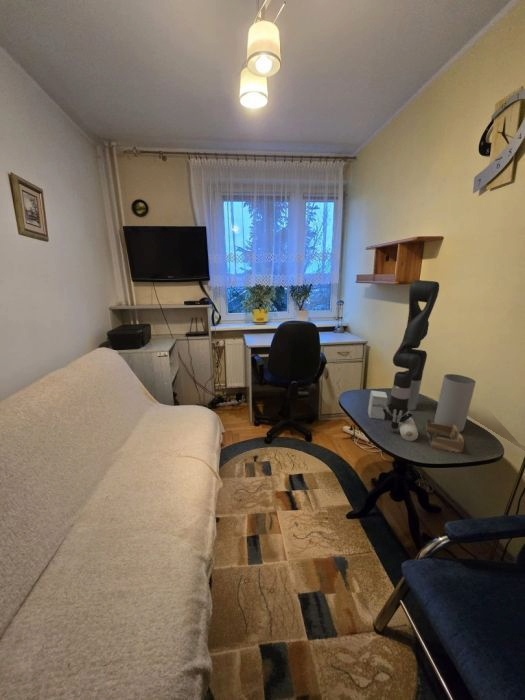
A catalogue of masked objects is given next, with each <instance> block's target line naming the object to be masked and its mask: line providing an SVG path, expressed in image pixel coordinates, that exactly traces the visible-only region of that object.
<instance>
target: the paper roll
mask: <svg viewBox="0 0 525 700" xmlns="http://www.w3.org/2000/svg"><path fill="white" fill-rule="evenodd" d="M398 429H399V432H400V436H401V438H402V439H403V440H405V441H408V442H411V441H412V442H413V441H415V440H416V439H418V437H419V432H418V429H417V426H416V423H415V420H414V419H413V417H410V418H409V419H407V420H406V421H404V422H400V423H399V425H398Z"/></svg>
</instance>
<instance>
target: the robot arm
mask: <svg viewBox="0 0 525 700" xmlns="http://www.w3.org/2000/svg"><path fill="white" fill-rule="evenodd" d="M439 292H440V283H439V282H438V281H433V280H432V281H431V280H419V279H417V280H416V279H415V280H413V281H412V282H411V283H410V286H409V292H408V316H407V324H406V328H405V330H404V334H403V337H402V341H401V343H400V345H399V347H398V349H397V350H396V351H395V353H394V355H393V357H392V363H393V366H395V367H398V368H403V369H406V370H404V371H397V372H395V374H394V377H393V378H394V379H393V385H392V386H391V392H390V396H389V397H390V398H389V403H388V404H387V406H386V407H383V412H384V413H385V417H386V418H387V419H388V420H389V421H391V428H392V429H393V430H397V429H399V423H400V422H404V421H406V420H407V419H409V418H412V417H413V414H412V411H415V410H416V409H417V405H418V400H419V395H420V390H421V386H422V385H421V384H422V380H423V375H424V370H425V366H426V361H427V357H428V354H427V351H426V350H421V349H418V348H420V345H421V342H422V340H424V339H425V338H426V336H427V335H428V332H429V325H430V323H429V319H430V316H431V313H432V311H433V309H434V306H435V304H436V301H437V298H438V297H439ZM419 302H420V303H426V304H425V306H424V308H421V306H420V304H419Z"/></svg>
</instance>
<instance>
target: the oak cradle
mask: <svg viewBox="0 0 525 700" xmlns="http://www.w3.org/2000/svg"><path fill="white" fill-rule="evenodd" d="M426 421H427V422H426V426H425V431H424V432H425V434H426V436H427V440H428V442H429V444H430V447H431V448H432V449H436V450H441V451H442V450H443V451H446V450H448V451H447V452H452V451H455V452H454V453H457V452H462V453H463V449H464V445H465V440H464V437H463V436H462V434H461V431H460V432H459V431H458V429H457V427H456V425H455V424H452V426H449V425H443V424H438V423H435V422H432V420H431V419H430V418H427V420H426ZM430 434H433V435H432V438H431V435H430ZM438 435H439V437H438ZM440 436H446V437H450V439H449V438H445V437H440Z"/></svg>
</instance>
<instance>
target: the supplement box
mask: <svg viewBox="0 0 525 700" xmlns="http://www.w3.org/2000/svg"><path fill="white" fill-rule="evenodd" d="M388 399H389V397H388V395H387V392H386V391H380V390H379V391H378V390H370V393H369V401H368V408H367V413H368V417H369V419H377V420H385V417H386V415H385V413H384V412H383V407H387V406H388Z"/></svg>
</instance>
